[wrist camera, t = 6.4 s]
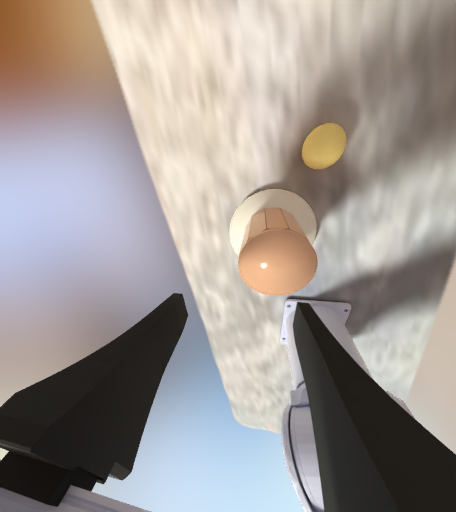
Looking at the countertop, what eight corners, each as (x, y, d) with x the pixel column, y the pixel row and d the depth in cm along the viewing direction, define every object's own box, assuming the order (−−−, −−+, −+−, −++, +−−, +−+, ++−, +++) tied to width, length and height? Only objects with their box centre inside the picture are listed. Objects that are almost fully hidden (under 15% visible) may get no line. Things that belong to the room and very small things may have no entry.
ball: (332, 167, 14) (347, 168, 12) (296, 170, 15) (303, 171, 12) (341, 125, 13) (360, 115, 10) (301, 129, 14) (310, 121, 11)
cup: (295, 256, 18) (310, 297, 13) (245, 255, 19) (239, 293, 14) (301, 206, 16) (324, 230, 10) (244, 208, 17) (236, 231, 11)
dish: (306, 267, 20) (308, 270, 19) (232, 264, 21) (231, 268, 21) (322, 186, 15) (325, 187, 15) (228, 190, 17) (226, 192, 16)
